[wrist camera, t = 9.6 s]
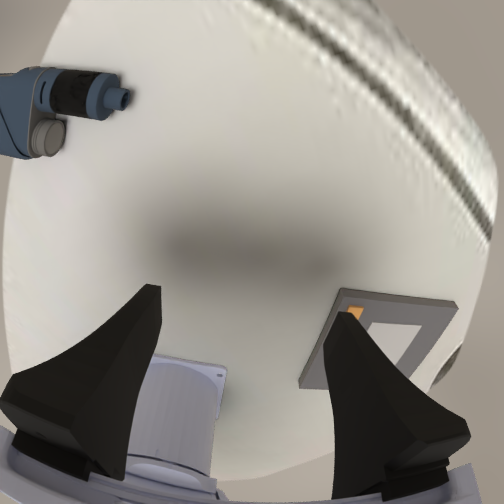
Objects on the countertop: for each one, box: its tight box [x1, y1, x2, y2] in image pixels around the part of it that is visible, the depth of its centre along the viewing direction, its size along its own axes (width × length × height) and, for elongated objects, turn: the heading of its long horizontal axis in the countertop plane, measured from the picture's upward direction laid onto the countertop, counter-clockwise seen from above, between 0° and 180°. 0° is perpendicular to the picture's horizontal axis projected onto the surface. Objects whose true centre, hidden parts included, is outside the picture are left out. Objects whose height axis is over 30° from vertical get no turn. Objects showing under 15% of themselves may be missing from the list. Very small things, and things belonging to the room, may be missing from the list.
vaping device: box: [0, 66, 130, 160], centre depth 11 cm, size 3×5×12 cm
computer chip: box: [299, 288, 459, 390], centre depth 21 cm, size 10×10×1 cm
